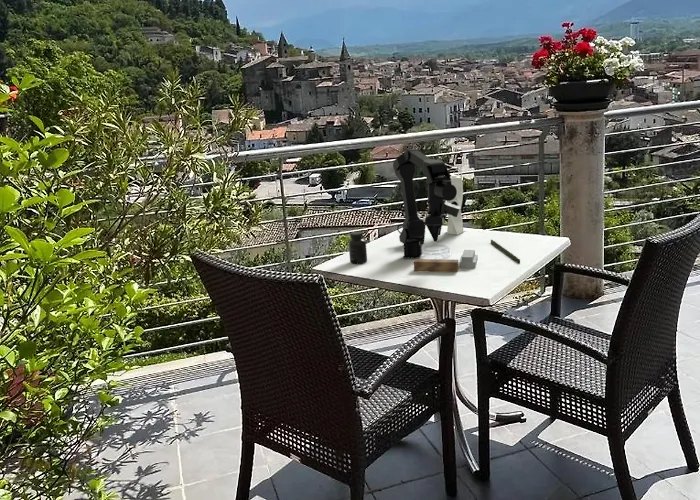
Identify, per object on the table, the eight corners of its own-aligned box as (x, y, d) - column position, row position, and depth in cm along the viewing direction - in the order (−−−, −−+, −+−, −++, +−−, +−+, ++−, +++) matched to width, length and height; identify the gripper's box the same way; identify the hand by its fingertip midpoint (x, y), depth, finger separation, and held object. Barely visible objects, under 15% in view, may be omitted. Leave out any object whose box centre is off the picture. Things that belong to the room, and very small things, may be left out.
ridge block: (459, 267, 252) (458, 257, 251) (461, 259, 262) (461, 249, 260) (475, 267, 251) (475, 257, 250) (477, 259, 260) (477, 249, 259)
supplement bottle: (358, 258, 272) (356, 229, 269) (370, 261, 267) (369, 232, 264) (346, 263, 268) (344, 233, 264) (358, 265, 263) (356, 235, 260)
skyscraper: (468, 232, 303) (467, 170, 296) (459, 236, 297) (458, 173, 290) (451, 230, 308) (450, 169, 301) (442, 234, 302) (441, 172, 295)
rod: (520, 264, 253) (520, 258, 252) (517, 264, 252) (517, 259, 252) (492, 243, 283) (492, 239, 282) (490, 243, 283) (490, 239, 282)
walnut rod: (414, 272, 251) (413, 261, 250) (415, 269, 254) (415, 259, 253) (457, 272, 247) (457, 262, 246) (458, 269, 250) (458, 259, 249)
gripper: (456, 201, 233) (457, 244, 237) (460, 191, 251) (461, 231, 255) (424, 201, 236) (425, 245, 240) (430, 191, 253) (431, 232, 257)
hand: (437, 238), depth 248 cm, fingers open, 9 cm apart
